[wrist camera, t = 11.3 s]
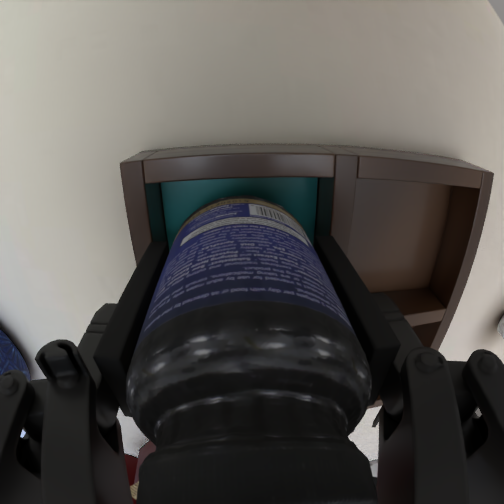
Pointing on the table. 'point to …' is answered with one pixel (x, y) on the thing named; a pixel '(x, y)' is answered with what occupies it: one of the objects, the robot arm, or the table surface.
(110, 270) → the table surface
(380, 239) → the wooden box
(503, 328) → the lightbulb
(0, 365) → the planter
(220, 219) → the pill bottle
